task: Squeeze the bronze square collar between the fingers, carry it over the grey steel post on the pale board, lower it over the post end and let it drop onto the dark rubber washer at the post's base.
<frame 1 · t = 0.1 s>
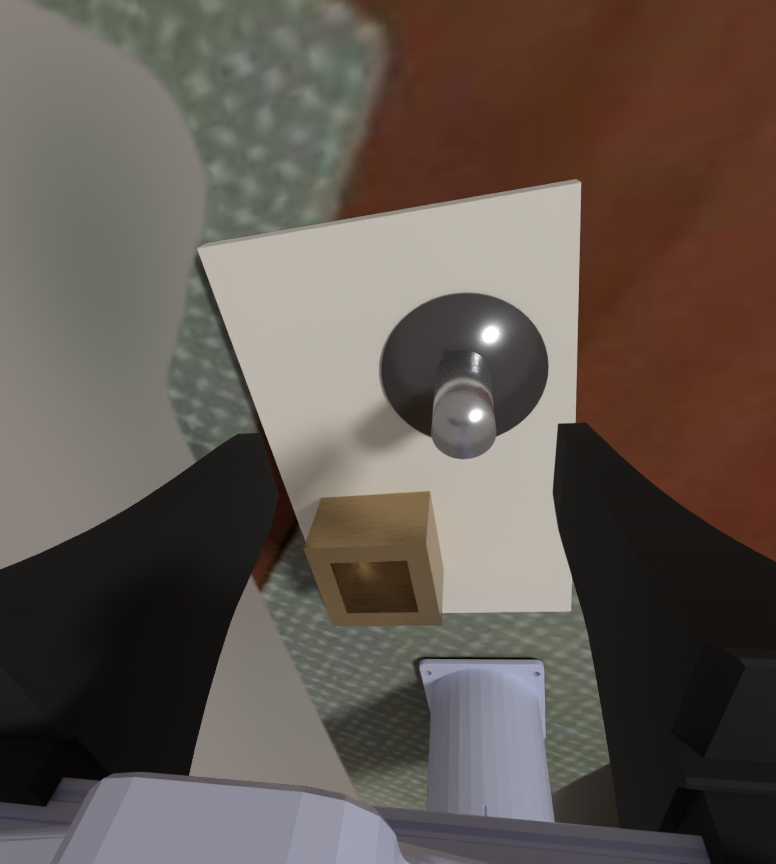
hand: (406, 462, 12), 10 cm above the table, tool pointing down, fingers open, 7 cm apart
steel post: (462, 364, 22), resting on pale board
pale board: (420, 453, 24), on the table
bronze collar: (384, 534, 27), point 1 cm above the table, touching pale board
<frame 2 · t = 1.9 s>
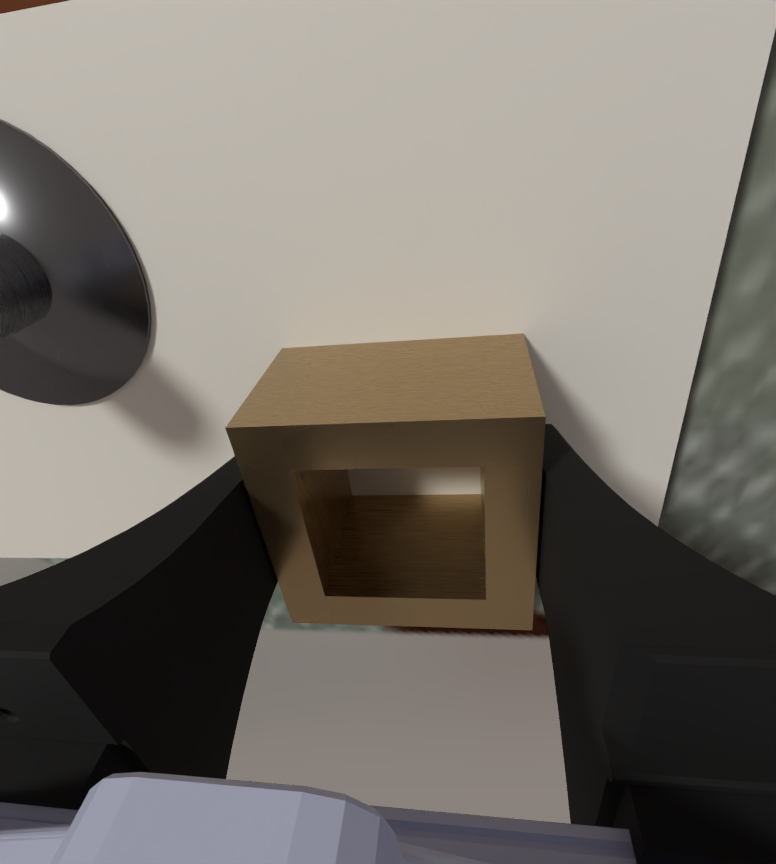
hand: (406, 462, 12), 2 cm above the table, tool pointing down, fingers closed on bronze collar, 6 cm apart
steel post: (33, 267, 12), resting on pale board
pale board: (231, 349, 13), on the table
bronze collar: (409, 441, 13), point 1 cm above the table, touching gripper, pale board
when the fingers open (4 cm above the table, at t = 5.3 s): bronze collar drops 2 cm, resting on steel post.
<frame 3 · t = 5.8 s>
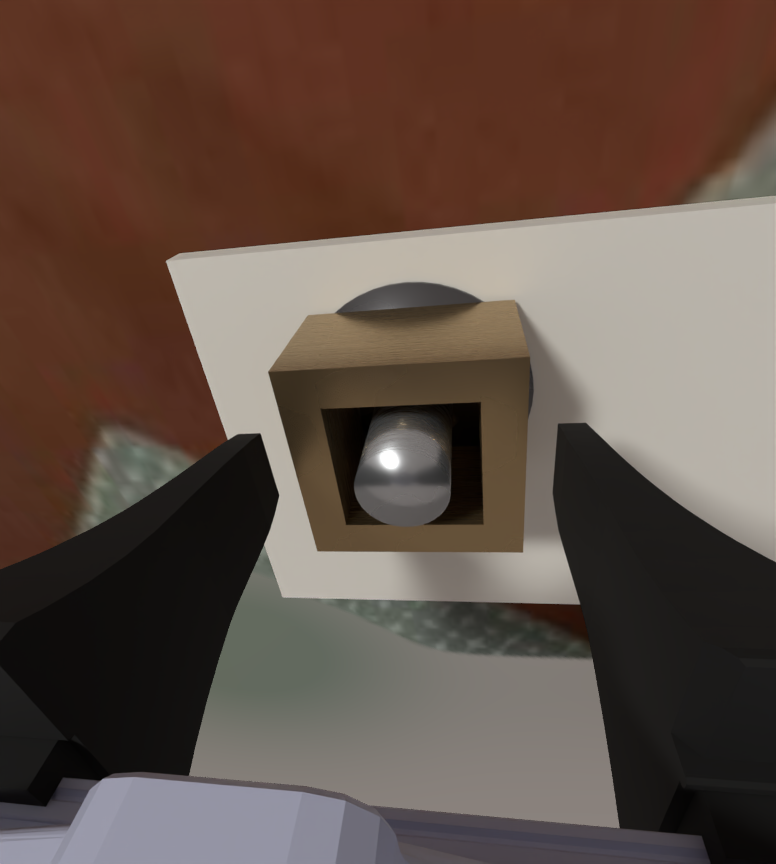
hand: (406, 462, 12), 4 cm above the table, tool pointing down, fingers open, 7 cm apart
steel post: (418, 382, 16), resting on pale board
pale board: (561, 443, 16), on the table
bronze collar: (416, 398, 15), point 1 cm above the table, touching steel post
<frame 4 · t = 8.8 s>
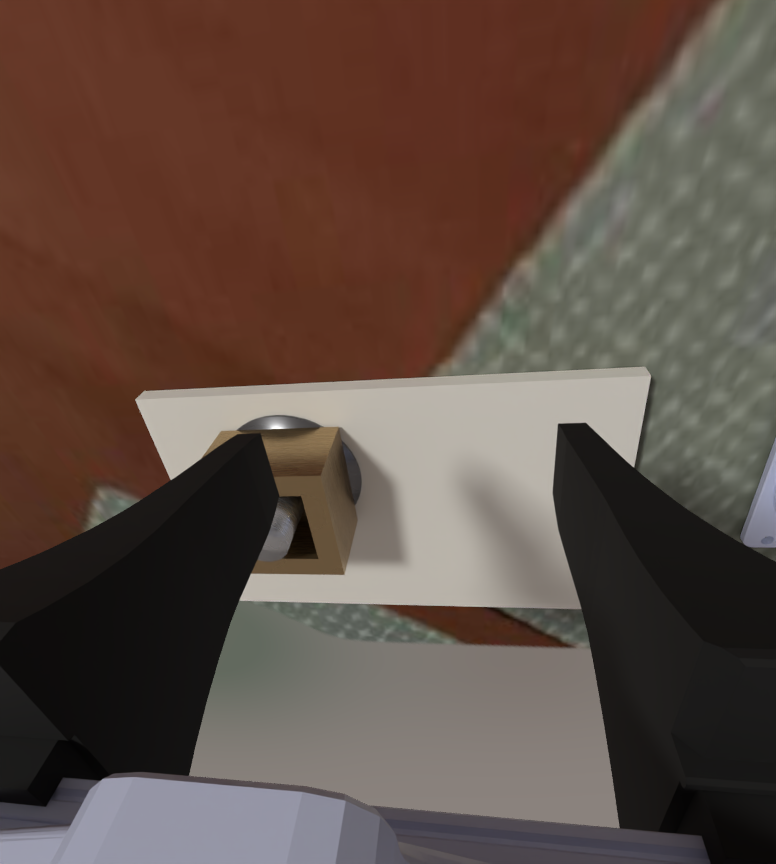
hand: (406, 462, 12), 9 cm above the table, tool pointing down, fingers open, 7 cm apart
steel post: (296, 464, 25), resting on pale board
pale board: (391, 502, 26), on the table
bronze collar: (292, 477, 24), point 1 cm above the table, touching steel post
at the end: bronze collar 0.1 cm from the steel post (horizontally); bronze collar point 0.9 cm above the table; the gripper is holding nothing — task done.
